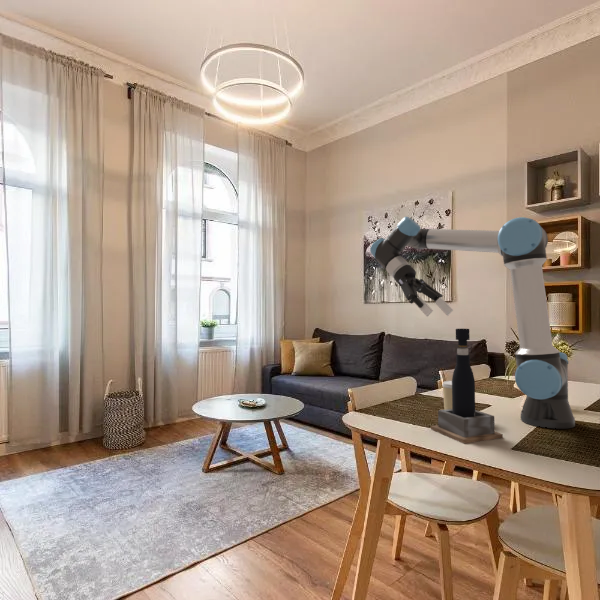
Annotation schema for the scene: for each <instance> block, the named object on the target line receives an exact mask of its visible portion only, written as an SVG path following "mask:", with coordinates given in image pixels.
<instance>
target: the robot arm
mask: <svg viewBox="0 0 600 600" xmlns="http://www.w3.org/2000/svg"><path fill="white" fill-rule="evenodd" d="M548 243H549V237H548V234H547V232H546V229H544V228H543V227H542V226H541V225H540V224H539V223H538V222H537V221H536V220H534V219H533V218H529V217H522V216H521V217H515V218H511V219H510V220H508V221H506V222H505V223H504V224H503V225H502V226H501V227H500V229H499V230H485V229H483V230H482V229H481V230H480V229H478V230H477V229H446V228H445V229H443V228H421V226H420V224H419V223H418V222H416V221H415V220H414V219H412V218H411V217H409V216H404V217H403V218H402V219H401V220H400V221H399V222H397V225H396V226H394V228H393V230H392V231H391V232H390V233H389V235H388V236H386V238H383V237H382V238H378V239H377V240H376V241H373V242H372V244H371V246H370V249H369V250H370V254H371V255H372V256H373V258H374V259H375V261H377V263H379V264H380V266H381V267H383V268H384V270H385V271H386V272H387V273H388V276H391V277H392V278H393V280H394V281H395V282H396V283H397V284H398V285H399V286H400V288H401V290H402V293H403V294H404V297H405V298H406V300H407V301H408V302H409V303H410V304H413V303H414V304H415V305H416V306H417V307H418V308H419V310H420V311H421V312H422V313H423V314H424V315H425V317H429V316H430V315H431V314H432V313H433V312H434V310H433V309H432V308H431V307H430V305H428V303H427V301H425V300H424V299H423V298H422V297H421V296H419V295H418V293H419V294H422V295H425V296H426V297H428V298H429V299H430V300H432V301H434V304H435V305H436V306H437V307H438V308H439V309H440V310H441V311H442V312H443V313H444V314H445V315H446V316H447V317H448V316H449V315H450V314H451V313H452V312H453V311H454V309H453V308H452V307H451V306H450V305H449V304H448V303H447V302H446V301H445V299H443V298H442V297H443V294H442V293H440V292H439V291H437V289H435V288H434V287H432V286H431V285H430V284H429V283H427V282H426V281H425V280H423V278H420V279H419V278H416V277H417V275H416V274H417V271H416V270H415V269H414V267H412V265H410V264H409V262H407V260H406V259H405V258H404V257H403V256H402V255H401V254H400V253H402V252H403V251H404V250H405V248H406V247H411V248H413V249H414V250H415V249H416V250H424V249H425V250H426V249H427V250H428V249H430V250H447V251H459V252H460V251H462V252H463V251H465V252H476V253H477V252H479V253H496V254H499V255H500V256H501V257H502V258H503V259H502V260H503V261H502V262H503V266H504V267H505V268H507V269H508V270H509V272H510V280H511V286H512V296H513V303H514V310H515V319H516V328H517V334H518V343H519V348H518V349H517V350H516V351H515V353H514V354H515V362H516V363H515V364H516V369H515V373H514V380H515V384H516V387H517V388H518V390H520V392H521V393H523V394H524V396H526V397H525V400H524V403H523V405H522V410H520V420H521V421H522V422H523V423H525V424H527V425H532V426H535V427H539V426H540V427H541V428H545V427H547V428H546V429H555V428H556V430H557V429H558V430H559V429H561V430H562V429H564V430H565V429H566V430H567V429H572V428H574V427H576V419H575V416H574V414H573V411H572V408H571V405H570V402H569V384H568V383H569V379H568V377H569V376H568V374H569V372H568V371H569V370H568V367H569V366H568V365H569V360H568V355H567V354H566V353H564V352H561V351H560V350H559V349H557V348H556V347H555V346H554V345H553V340H552V333H551V332H552V331H551V326H550V325H551V324H550V317H549V311H548V303H547V302H548V301H547V295H546V294H547V293H546V288H545V287H546V286H545V280H544V272H543V265H544V264H545V263H546V261H547V259H548V258H547V250H546V249H547V247H548Z"/></svg>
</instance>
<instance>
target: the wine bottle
mask: <svg viewBox="0 0 600 600" xmlns="http://www.w3.org/2000/svg"><path fill="white" fill-rule="evenodd" d="M455 340H456V341H457V342H458V343H457V344H458V345H457V346H458V347H457V349H456V355H455V357H456V358H455V360H456V363H455V366H454V370H453V372H452V378H451V381H452V414H455V415H458V416H461V417H464V418H467V417H475V410H476V382H475V376H474V375H475V374H474V372H473V369H472V367H471V361H470V360H471V359H470V358H471V357H470V355H471V354H470V353H469V348H468V341H470V328H456V329H455Z"/></svg>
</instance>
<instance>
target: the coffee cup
mask: <svg viewBox="0 0 600 600" xmlns="http://www.w3.org/2000/svg"><path fill="white" fill-rule="evenodd" d="M441 386H442V395H443V396H442V397H443V407H444V408H443V410H447V409H452V380H444V381H443V382H442V384H441Z"/></svg>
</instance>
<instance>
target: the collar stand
mask: <svg viewBox="0 0 600 600" xmlns="http://www.w3.org/2000/svg"><path fill="white" fill-rule="evenodd" d="M437 415H438V416H437V418H438V421H437V423H438V424H437V425H431V426H430V429H431V431H434V432H436V433H438V434H441V435H443V436H446V437H448V438H451V439H452V440H456V441H457V442H459V443H462V444H468V443H476V442H482V441H484V442H485V441H490V440H496V439H503V438H504V436H503V433H500V432H497V431H495V426H496V425H495V415H492V414H489V413H487V412H483V411H480V410H477V409H475V417H467V418H464V417H461V416H458V415H455V414H452V409H447V410H444V409H439V410H437Z"/></svg>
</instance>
